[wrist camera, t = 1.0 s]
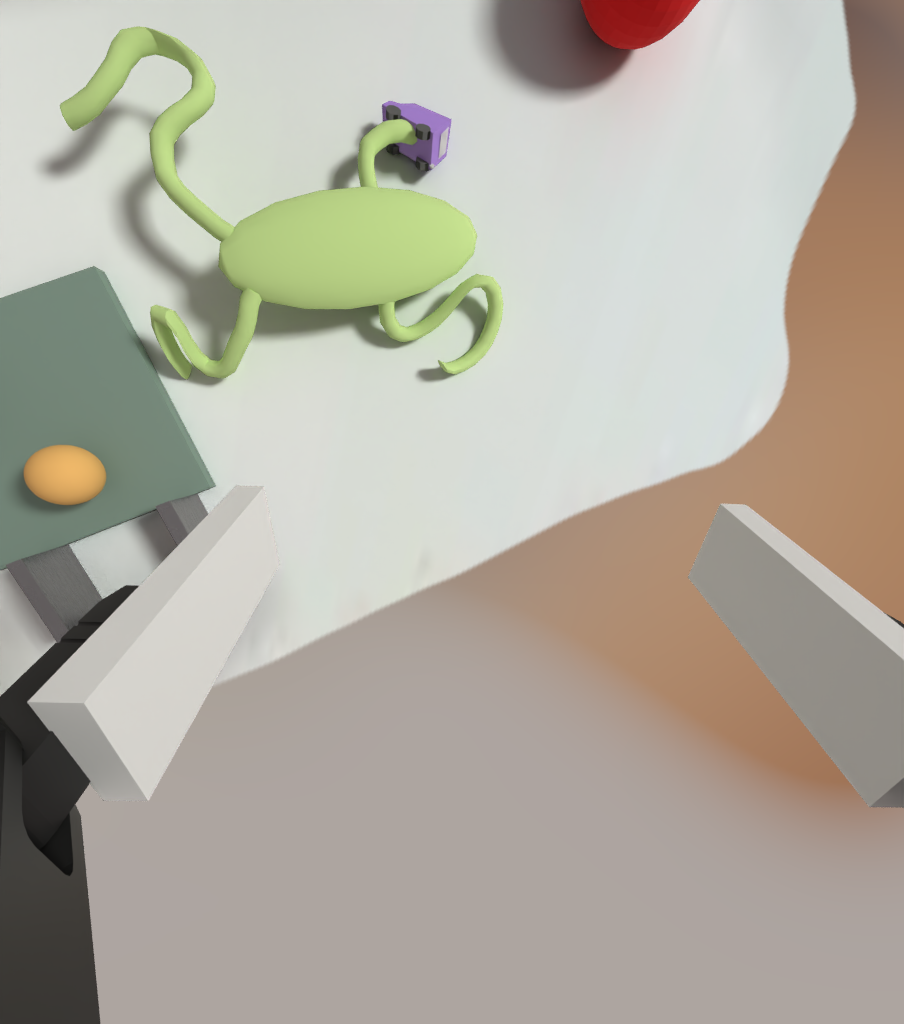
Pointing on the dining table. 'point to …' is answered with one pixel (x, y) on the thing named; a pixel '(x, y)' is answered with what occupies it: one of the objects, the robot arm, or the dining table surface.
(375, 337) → the dining table surface
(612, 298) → the dining table surface
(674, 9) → the ornament
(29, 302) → the mat
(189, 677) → the robot arm
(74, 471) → the ball
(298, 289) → the figurine
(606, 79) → the dining table surface
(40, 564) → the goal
